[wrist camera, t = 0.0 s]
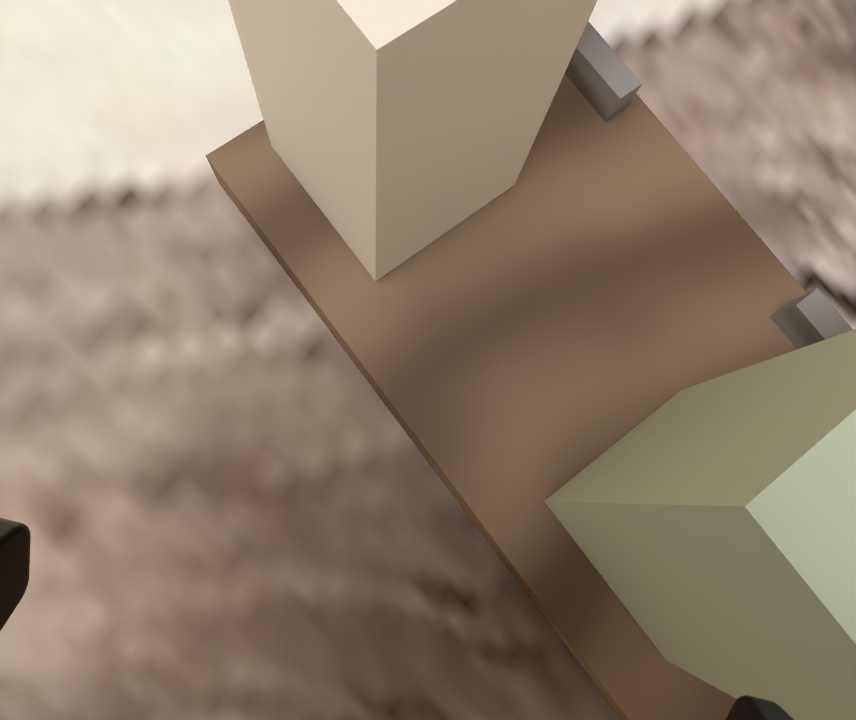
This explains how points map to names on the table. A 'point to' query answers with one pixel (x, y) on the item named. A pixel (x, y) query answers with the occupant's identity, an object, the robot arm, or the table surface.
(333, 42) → the cream block
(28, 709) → the table surface
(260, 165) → the studded brown plank
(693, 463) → the sage block
